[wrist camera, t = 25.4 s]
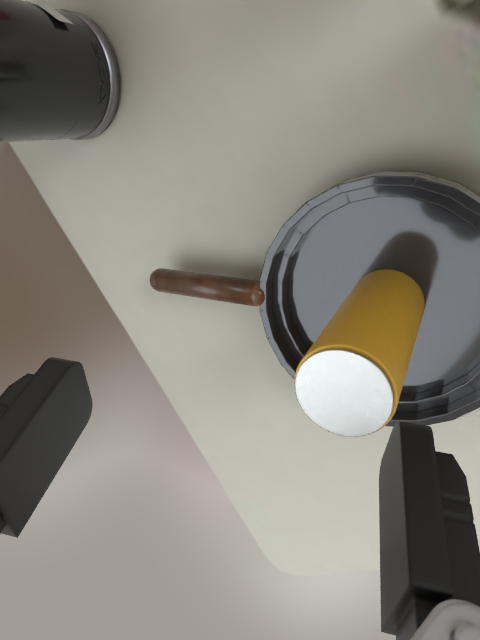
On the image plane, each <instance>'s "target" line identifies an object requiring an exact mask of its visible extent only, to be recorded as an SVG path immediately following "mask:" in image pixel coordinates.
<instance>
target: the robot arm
mask: <svg viewBox="0 0 480 640" xmlns="http://www.w3.org/2000/svg"><path fill="white" fill-rule="evenodd" d="M32 1H34V2H35V3H36V4H34V3H30V2H26V1H22V0H0V142H16V141H34V140H54V139H88V138H92V137H95V136H97V135H99V134H100V133H102V132H103V131H104V130H105V129H106V128H107V127H108V125H109V124H110V122H111V121H112V119H113V117H114V114H115V112H116V109H117V105H118V101H119V93H120V79H119V71H118V65H117V61H116V58H115V55H114V52H113V49H112V47H111V45H110V43H109V41H108V39H107V38H106V36H105V34H104V33H103V32H102V30H101V29H100V28H99V27H98V26H97V25H96V24H95V23H94V22H93V21H92V20H90V19H89V18H87V17H86V16H84V15H82V14H79V13H75V12H72V11H67V10H57V9H54V8H52V7H51V6H50V5H48V4H47V3H46V2H44V1H43V0H32ZM91 412H92V398H91V394H90V391H89V387H88V384H87V380H86V376H85V373H84V369H83V367H82V364H81V363H80V362H76V361H71V360H65V359H60V358H54V357H52V358H49V359H47V360H46V361H45V362H44V363H43V365H42V366H41V367H40V368H39V369H38V371H37V372H36V373H35V374H34V375H33V374H26V375H25V376H23V377H22V378H20V379H19V380H17V381H16V382H15V383H13V384H11V385H10V386H9V387H8V388H7V389H6V390H5V391H4V393H3V394H2V395H1V396H0V533H2V534H6V535H10V536H14V537H18V536H19V534H20V533H21V531H22V529H23V528H24V526H25V525H26V523H27V521H28V520H29V518H30V516H31V515H32V513H33V511H34V510H35V508H36V507H37V505H38V503H39V502H40V500H41V498H42V497H43V495H44V493H45V492H46V490H47V489H48V487H49V485H50V484H51V482H52V480H53V479H54V477H55V475H56V474H57V472H58V470H59V469H60V467H61V466H62V464H63V462H64V461H65V459H66V457H67V456H68V454H69V452H70V451H71V449H72V448H73V446H74V444H75V443H76V441H77V439H78V438H79V436H80V434H81V433H82V431H83V429H84V428H85V426H86V425H87V423H88V421H89V418H90V416H91ZM379 514H380V577H381V631H382V632H384V633H388V634H393V635H396V640H480V551H479V546H478V540H477V535H476V529H475V524H473V520H474V518H473V513H472V507H471V504H470V497H469V491H468V486H467V480H466V476H465V474H464V473H463V471H462V469H461V468H460V466H459V465H458V463H457V461H456V460H455V458H454V456H453V455H452V454H447V453H442V452H436V451H435V447H434V439H433V432H432V429H431V427H430V426H425V425H420V424H414V423H409V422H403V421H398V420H397V421H396V422H395V424H394V427H393V430H392V432H391V435H390V438H389V441H388V444H387V446H386V449H385V452H384V455H383V458H382V461H381V467H380V475H379Z"/></svg>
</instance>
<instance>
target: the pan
mask: <svg viewBox="0 0 480 640" xmlns="http://www.w3.org/2000/svg"><path fill="white" fill-rule="evenodd" d="M384 269H388V270H396V271H399V272H402V273H404V274H406V275H408V276H409V277H411V278H412V279H413V280H414V281H415V282H416V283H417V284H418V286H419V287H420V289H421V290H422V293H423V296H424V301H425V308H424V313H423V316H422V320H421V324H420V327H419V331H418V334H417V338H416V341H415V345H414V348H413V352H412V355H411V359H410V362H409V366H408V370H407V373H406V377H405V380H404V384H403V387H402V391H401V394H400V398H399V401H398V405H397V408H396V411H395V413H394V415H393V417H392V419H391V420H390V421H389V422H388V423H387V424H386V425H385V426H394V424H395V422H396V421H397V420H398V421H403V422H409V423H414V424H420V425H425V426H426V425H431V424H436V423H441V422H446V421H451V420H454V419H456V418H458V417H460V416H462V415H465V414H467V413H469V412H471V411H473V410H475V409H477V408H479V407H480V197H479V196H478V195H476V194H475V193H473V192H472V191H470V190H468V189H467V188H465V187H464V186H462V185H460V184H458V183H456V182H452V181H449V180H445V179H442V178H439V177H435V176H432V175H428V174H425V173H420V172H390V171H383V172H378V173H374V174H369V175H365V176H361V177H357V178H353V179H349V180H346V181H344V182H342V183H340V184H338V185H336V186H334V187H333V188H331V189H329V190H327V191H325V192H323V193H322V194H320V195H318V196H316V197H314V198H313V199H311V200H309V201H307V202H306V203H305V204H304V205H303V206H302V207H301V208H300V209H299V210H298V211H297V212H296V213H295V214H294V215H293V216H292V217H291V218H290V219H289V220H288V221H286V222H285V223H284V224H283V226H282V227H281V229H280V231H279V232H278V234H277V236H276V238H275V239H274V241H273V243H272V245H271V246H270V248H269V250H268V251H267V254H266V258H265V262H264V266H263V270H262V274H261V277H260V288H261V289H262V290H263V292H264V294H265V300H264V302H263V303H262V304H261V305H260V313H261V317H262V321H263V325H264V328H265V332H266V336H267V338H268V341H269V343H270V345H271V347H272V348H273V350H274V352H275V354H276V356H277V358H278V360H279V361H280V363H281V365H282V366H283V367H284V368H285V369H286V371H287V372H288V373H289V374H290V375H291V376H292V377H293V379H294V380H295V373H296V369H297V367H298V365H299V363H300V362H301V360H302V359H303V357H304V356H305V354H306V353H307V352H308V350H309V349H310V348H311V346H312V345H313V343H314V342H315V341H316V339H317V338H318V337H319V335H320V334H321V332H322V331H323V330H324V328H325V327H326V326H327V324H328V323H329V321H330V320H331V319H332V317H333V316H334V315H335V313H336V312H337V310H338V309H339V308H340V306H341V305H342V303H343V302H344V301H345V299H346V298H347V297H348V295H349V294H350V292H351V291H352V290H353V288H354V287H355V286H356V284H357V283H358V282H359V281H360V279H362V278H363V277H364V276H366V275H367V274H369V273H371V272H374V271H377V270H384Z"/></svg>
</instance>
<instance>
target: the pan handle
mask: <svg viewBox="0 0 480 640" xmlns="http://www.w3.org/2000/svg"><path fill="white" fill-rule="evenodd" d="M150 284H151V286H152V287H153V288H154V289H155V290H157V291H160V292H166V293H173V294H179V295H186V296H192V297H199V298H205V299H212V300H218V301H225V302H231V303H238V304H244V305H251V306H260V305H261V304H262V303H263V302H264V300H265V294H264V292H263V290H262V289H261V288H260V281H256V280H249V279H241V278H233V277H225V276H217V275H210V274H202V273H194V272H186V271H178V270H170V269H157V270H155V271H154V272H153V273H152V274H151V276H150Z"/></svg>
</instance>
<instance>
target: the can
mask: <svg viewBox="0 0 480 640" xmlns="http://www.w3.org/2000/svg"><path fill="white" fill-rule="evenodd" d="M424 308H425V301H424V296H423V293H422V290H421V289H420V287H419V286H418V284H417V283H416V282H415V281H414V280H413V279H412V278H411V277H409V276H408V275H406V274H404V273H402V272H399V271H396V270H388V269H384V270H377V271H374V272H371V273H369V274H367V275H366V276H364V277H363V278H362V279H360V281H359V282H358V283H357V284H356V286H355V287H354V288H353V290H352V291H351V292H350V294H349V295H348V297H347V298H346V299H345V301H344V302H343V303H342V305H341V306H340V308H339V309H338V310H337V312H336V313H335V315H334V316H333V317H332V319H331V320H330V321H329V323H328V324H327V326H326V327H325V328H324V330H323V331H322V332H321V334H320V335H319V337H318V338H317V339H316V341H315V342H314V343H313V345H312V346H311V348H310V349H309V350H308V352H307V353H306V354H305V356H304V357H303V359H302V360H301V362H300V363H299V365H298V367H297V369H296V373H295V390H296V395H297V399H298V401H299V403H300V406H301V407H302V409H303V411H304V412H305V413H306V414H307V416H308V417H309V418H310V419H311V420H312V421H314V422H315V423H316V424H317V425H319V426H320V427H322V428H323V429H325V430H327V431H329V432H332V433H335V434H338V435H342V436H349V437H358V436H364V435H368V434H371V433H373V432H375V431H377V430H379V429H381V428H383V427H384V426H385V425H386V424H387V423H388V422H389V421H390V420H391V419H392V417H393V415H394V413H395V411H396V408H397V405H398V401H399V398H400V394H401V391H402V387H403V384H404V380H405V377H406V373H407V370H408V366H409V362H410V359H411V355H412V352H413V348H414V345H415V341H416V338H417V334H418V331H419V327H420V324H421V320H422V316H423V313H424Z"/></svg>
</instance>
